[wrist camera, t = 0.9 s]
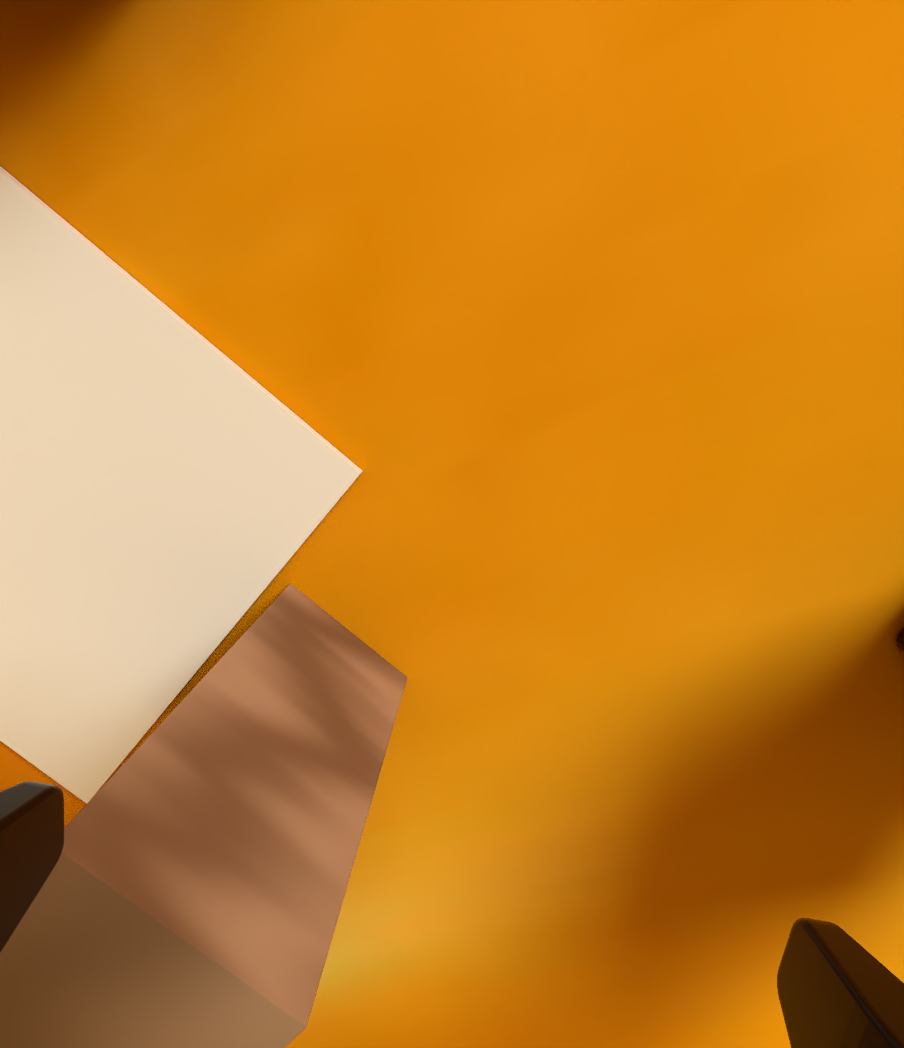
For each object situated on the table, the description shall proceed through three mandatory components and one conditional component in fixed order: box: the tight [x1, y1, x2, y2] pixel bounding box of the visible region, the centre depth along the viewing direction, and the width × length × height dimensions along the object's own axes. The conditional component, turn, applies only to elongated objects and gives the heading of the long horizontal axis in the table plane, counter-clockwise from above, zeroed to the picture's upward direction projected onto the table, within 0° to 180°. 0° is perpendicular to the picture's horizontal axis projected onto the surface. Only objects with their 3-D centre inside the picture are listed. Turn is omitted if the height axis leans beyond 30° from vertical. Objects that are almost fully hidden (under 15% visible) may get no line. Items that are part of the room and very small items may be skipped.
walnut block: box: [0, 583, 407, 1048], centre depth 17 cm, size 5×7×12 cm
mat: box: [0, 166, 363, 804], centre depth 22 cm, size 14×16×1 cm
